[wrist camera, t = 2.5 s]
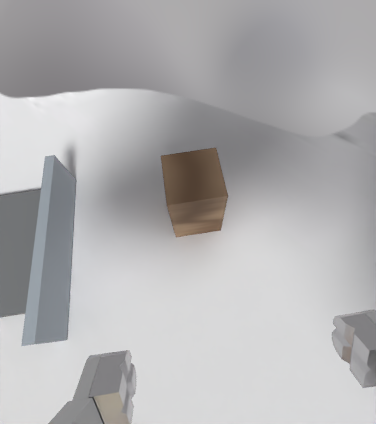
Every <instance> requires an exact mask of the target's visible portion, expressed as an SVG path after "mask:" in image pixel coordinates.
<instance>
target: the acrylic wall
mask: <svg viewBox="0 0 376 424" xmlns="http://www.w3.org/2000/svg"><path fill="white" fill-rule="evenodd" d="M75 192H76V179H75V178H74V177H73V176H72V175H71V174H70V173H69V171H68V170H67V169H66V168H65V167H64V166H63V164H62V163H61V162H60V161H59V160H58V159H57V158H56V156H55V155H53V156H46V157H45V162H44V170H43V178H42V186H41V194H40V202H39V210H38V218H37V226H36V234H35V242H34V250H33V258H32V266H31V274H30V282H29V290H28V298H27V306H26V313H25V321H24V329H23V337H22V345H21V346H26V345H34V344H42V343H50V342H57V341H64V340H67V335H68V317H69V299H70V281H71V263H72V245H73V228H74V210H75Z"/></svg>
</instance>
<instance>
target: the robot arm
mask: <svg viewBox="0 0 376 424" xmlns="http://www.w3.org/2000/svg"><path fill="white" fill-rule="evenodd" d="M333 324H334V326H335V327H336V329H335V330H334V331H333V332H332V341H333V345H334V348H335V350H336V352H337V353H338V355H339V356H340V357H341V359H343V360H344V361H346V362H348V363H349V364H350V371H351V372H352V374H353V375H354V377H355V378H356V379H357V381H358V382H359V383H360V385H361V386H362V387H363V388H366V387H373V386H376V311H375V310H369V311H363V312H356V313H351V314H345V315H339V316H335V318H334V320H333ZM131 358H132V356H131V353H130V351H129V350H126V351H119V352H112V353H104V354H98V355H91V356H89V358H88V359H87V360H86V363H85V366H84V369H83V372H82V375H81V377H80V380H79V383H78V386H77V389H76V392H75V394H74V397H73V400H72V401H69V402H67V403H66V405H65V406H64V407H63V408H62V409H61V410H60V411H59V412H58V413H57V415H56V416H55V417H54V418H53V419H52V420H51V421H50V422H49V423H48V424H131V423H132V415H133V408H134V406H133V402H132V397H133V396H134V394H135V392H136V370H135V366H134V365H133V364H132V363H131Z"/></svg>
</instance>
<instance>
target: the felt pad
mask: <svg viewBox="0 0 376 424" xmlns="http://www.w3.org/2000/svg"><path fill="white" fill-rule="evenodd" d="M40 194H41V189H40V190H33V191H27V192H20V193H13V194H7V195H0V317H6V316H12V315H18V314H25V313H26V306H27V298H28V290H29V282H30V274H31V266H32V258H33V250H34V242H35V234H36V226H37V218H38V210H39V202H40Z"/></svg>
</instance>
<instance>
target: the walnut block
mask: <svg viewBox="0 0 376 424" xmlns="http://www.w3.org/2000/svg"><path fill="white" fill-rule="evenodd" d="M161 161H162V169H163V178H164V186H165V194H166V202H167V207H168V211H169V214H170V218H171V221H172V225H173V228H174V232H175V235H176V237H181V236H187V235H194V234H200V233H206V232H213V231H219V230H221V226H222V221H223V217H224V212H225V207H226V203H227V198H228V194H227V190H226V186H225V182H224V178H223V174H222V170H221V166H220V162H219V158H218V154H217V150H216V148H210V149H203V150H197V151H190V152H183V153H176V154H170V155H163V156H161Z"/></svg>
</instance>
